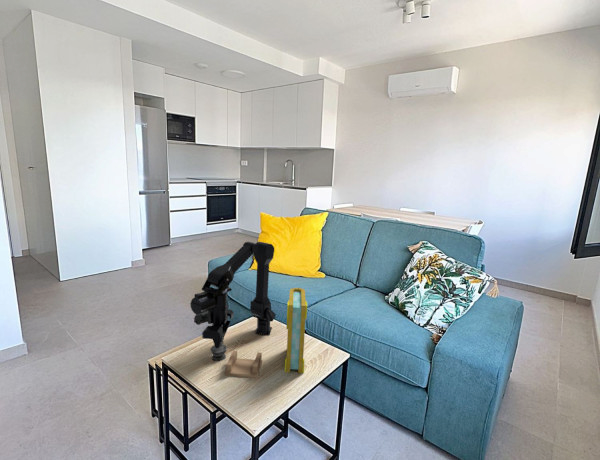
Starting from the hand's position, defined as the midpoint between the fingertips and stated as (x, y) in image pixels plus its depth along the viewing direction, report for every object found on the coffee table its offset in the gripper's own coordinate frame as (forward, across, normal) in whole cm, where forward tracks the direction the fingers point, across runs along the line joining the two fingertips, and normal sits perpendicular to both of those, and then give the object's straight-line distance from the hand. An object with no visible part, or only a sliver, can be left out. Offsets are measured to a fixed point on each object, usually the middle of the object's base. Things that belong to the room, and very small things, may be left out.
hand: (218, 344), depth 121 cm
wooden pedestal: (+5, +6, +11) cm, 13 cm away
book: (+5, -2, +28) cm, 29 cm away
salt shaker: (+5, 0, 0) cm, 5 cm away
